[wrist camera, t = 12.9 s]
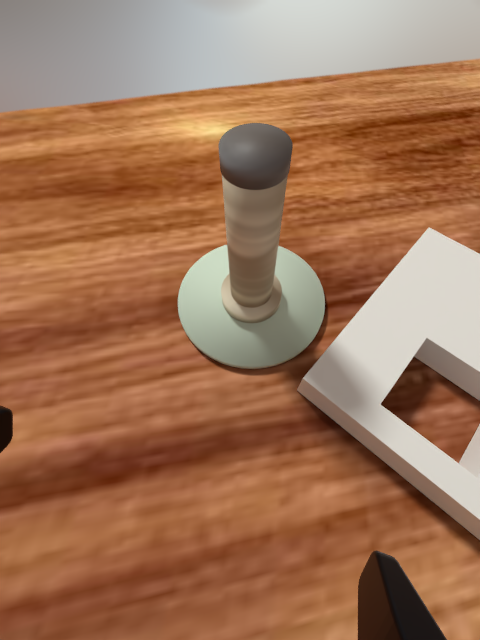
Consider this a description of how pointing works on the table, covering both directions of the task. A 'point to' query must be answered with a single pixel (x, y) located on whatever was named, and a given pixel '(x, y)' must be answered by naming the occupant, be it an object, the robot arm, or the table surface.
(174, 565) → the table surface
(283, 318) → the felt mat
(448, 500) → the socket plate
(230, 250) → the key peg
